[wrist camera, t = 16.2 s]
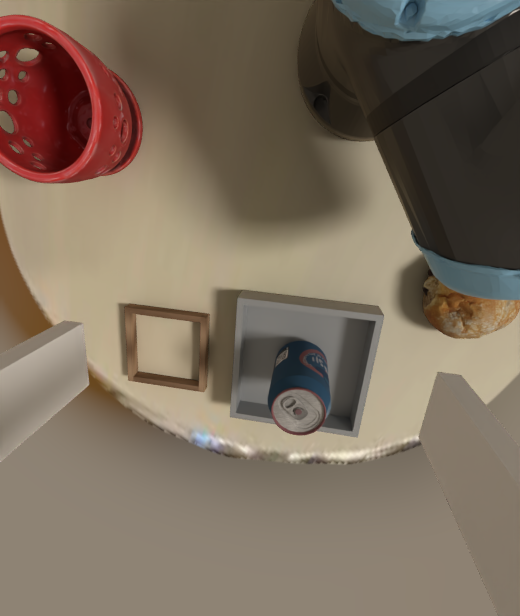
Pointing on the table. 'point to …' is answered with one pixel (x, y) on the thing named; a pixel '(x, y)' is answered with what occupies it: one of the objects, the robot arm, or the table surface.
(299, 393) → the soda can
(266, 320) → the grey bin
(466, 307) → the bread roll
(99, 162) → the plant pot
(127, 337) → the walnut frame
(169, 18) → the table surface
